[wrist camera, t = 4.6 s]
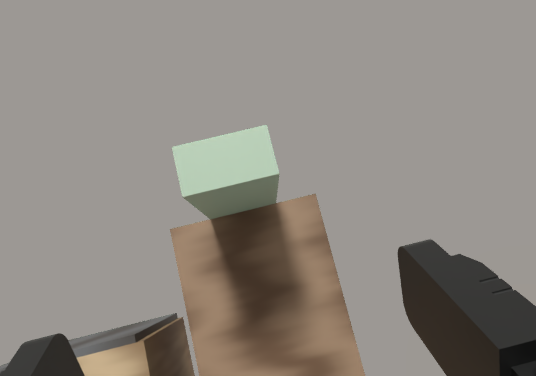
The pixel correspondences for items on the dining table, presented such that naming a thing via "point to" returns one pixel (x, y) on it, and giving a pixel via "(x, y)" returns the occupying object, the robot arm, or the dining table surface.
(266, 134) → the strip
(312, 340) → the walnut stand
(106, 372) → the oak block
